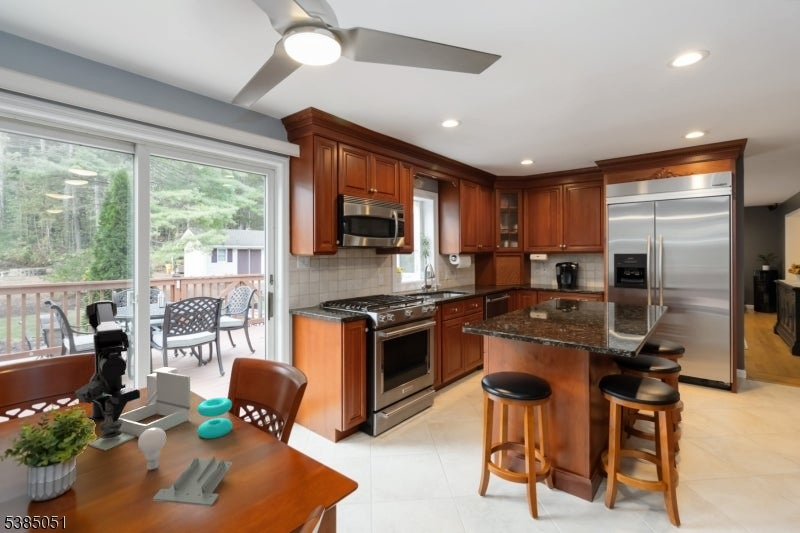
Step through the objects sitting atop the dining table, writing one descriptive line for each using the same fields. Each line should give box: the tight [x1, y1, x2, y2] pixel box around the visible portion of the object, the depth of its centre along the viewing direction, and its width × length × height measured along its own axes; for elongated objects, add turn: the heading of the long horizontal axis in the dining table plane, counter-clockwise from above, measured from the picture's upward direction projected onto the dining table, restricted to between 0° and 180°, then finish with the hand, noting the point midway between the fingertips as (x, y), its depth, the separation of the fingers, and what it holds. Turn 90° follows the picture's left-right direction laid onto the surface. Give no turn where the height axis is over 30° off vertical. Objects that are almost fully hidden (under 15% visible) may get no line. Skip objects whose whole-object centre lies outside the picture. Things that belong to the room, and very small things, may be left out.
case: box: [119, 371, 191, 438], centre depth 129 cm, size 16×16×15 cm
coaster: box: [88, 433, 136, 451], centre depth 117 cm, size 8×8×1 cm
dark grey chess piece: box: [99, 396, 123, 439], centre depth 117 cm, size 6×6×12 cm
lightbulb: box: [137, 427, 167, 471], centre depth 102 cm, size 6×6×11 cm
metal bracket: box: [152, 455, 233, 507], centre depth 94 cm, size 14×6×15 cm
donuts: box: [197, 397, 233, 439], centre depth 123 cm, size 10×10×10 cm
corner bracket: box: [146, 366, 178, 404], centre depth 148 cm, size 11×11×12 cm
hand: (111, 420), depth 117 cm, fingers closed on dark grey chess piece, 3 cm apart
